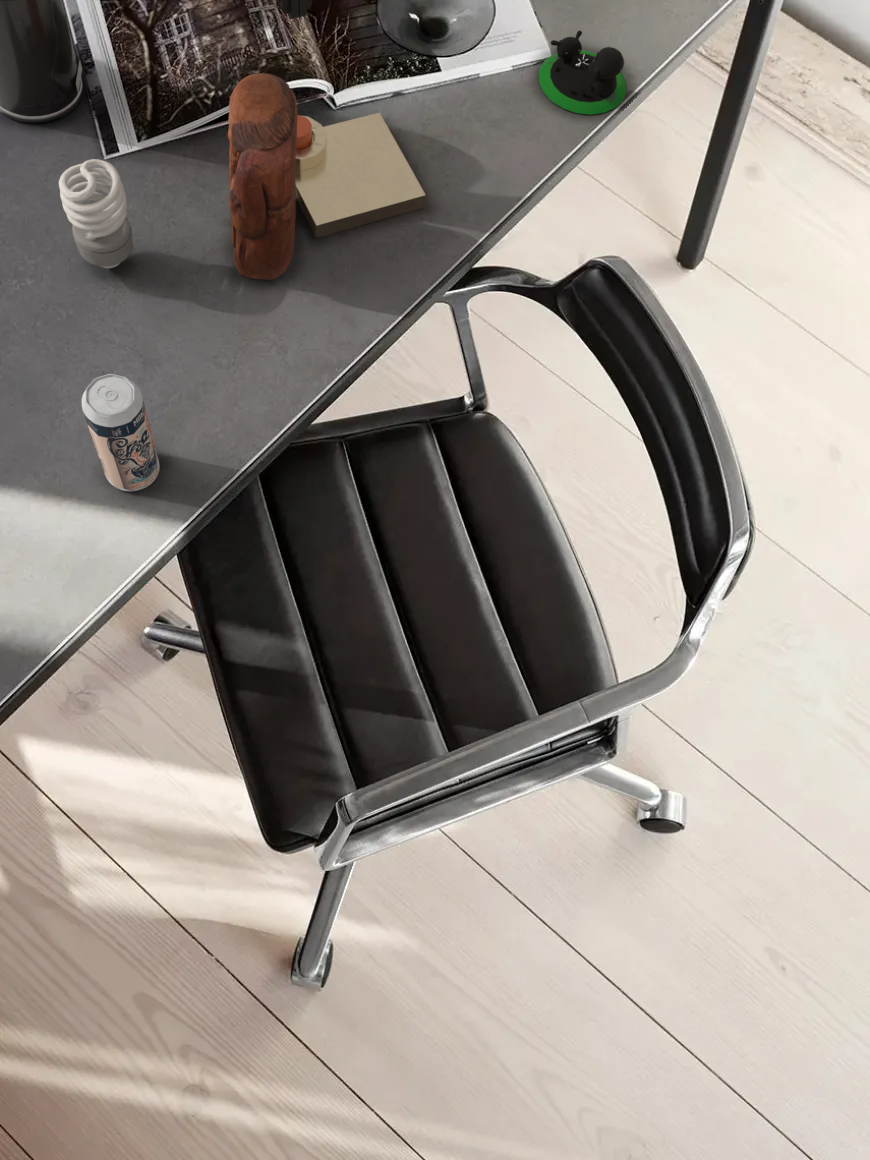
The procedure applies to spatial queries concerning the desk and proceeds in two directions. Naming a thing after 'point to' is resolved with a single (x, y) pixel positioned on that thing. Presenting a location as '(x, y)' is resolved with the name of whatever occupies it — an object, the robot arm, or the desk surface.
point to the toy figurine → (583, 77)
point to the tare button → (303, 133)
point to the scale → (353, 176)
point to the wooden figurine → (262, 174)
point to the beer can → (121, 432)
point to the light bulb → (97, 212)
